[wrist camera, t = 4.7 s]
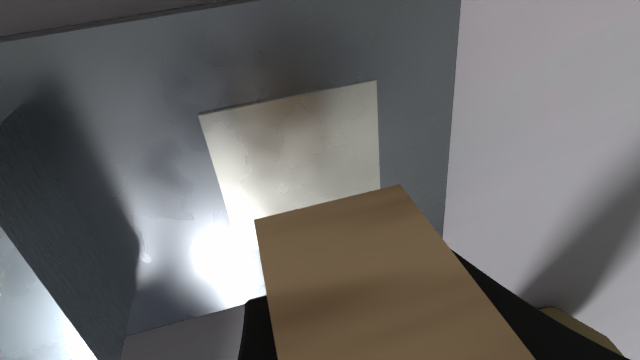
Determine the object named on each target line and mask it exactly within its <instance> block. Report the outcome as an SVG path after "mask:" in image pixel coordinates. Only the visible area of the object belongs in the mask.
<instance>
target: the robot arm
mask: <svg viewBox="0 0 640 360" xmlns="http://www.w3.org/2000/svg"><path fill="white" fill-rule="evenodd" d="M451 251H452V252H453V253H454V255H455V256H456V257H457V258H458V260H459V261H460V262H461V264H462V265H463V266H464V268H465V269H466V270H467V271H468V273H469V274H470V275H471V277H472V278H473V279H474V280H475V282H476V283H477V284H478V286H479V287H480V288H481V290H482V291H483V292H484V293H485V295H486V296H487V297H488V299H489V300H490V301H491V302H492V304H493V305H494V306H495V308H496V309H497V310H498V312H499V313H500V314H501V315H502V317H503V318H504V319H505V321H506V322H507V323H508V324H509V326H510V327H511V328H512V330H513V331H514V332H515V334H516V335H517V336H518V337H519V339H520V340H521V341H522V343H523V344H524V345H525V346H526V348H527V349H528V350H529V352H530V353H531V354H532V355H533V357H534V358H535V359H536V360H630V359H628V358H625V357H623V356H621V355H619V354H617V353H615V352H613V351H611V350H609V349H607V348H605V347H603V346H601V345H599V344H598V343H596V342H594V341H592V340H590V339H588V338H586V337H585V336H583V335H581V334H579V333H577V332H575V331H573V330H572V329H570V328H568V327H566V326H565V325H563V324H561V323H559V322H558V321H556V320H554V319H553V318H551V317H549V316H548V315H546V314H545V313H543V312H541V311H540V310H538V309H536V308H535V307H533V306H532V305H530V304H529V303H527V302H526V301H524V300H522V299H521V298H519V297H518V296H516V295H515V294H513V293H512V292H511V291H509V290H508V289H506V288H505V287H503V286H502V285H500V284H499V283H497V282H496V281H494V280H493V279H492V278H490V277H489V276H487V275H486V274H484V273H483V272H482V271H480V270H479V269H477V268H476V267H475V266H473V265H472V264H471V263H469V262H468V261H466V260H465V259H464V258H462V257H461V256H460V255H458V254H457V253H455V252H454V251H453V250H451ZM238 360H278V358H277V352H276V346H275V340H274V335H273V329H272V323H271V317H270V312H269V306H268V300H267V295H265V296H261V297H257V298H254V299H250V300H248V301H247V302H246V303H245V314H244V324H243V332H242V339H241V345H240V350H239V355H238Z"/></svg>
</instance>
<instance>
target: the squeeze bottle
mask: <svg viewBox="0 0 640 360" xmlns="http://www.w3.org/2000/svg"><path fill="white" fill-rule="evenodd" d="M538 310H540V311H541V312H543V313H545V314H546V315H548V316H549V317H551V318H553V319H554V320H556V321H558V322H559V323H561V324H563V325H565V326H566V327H568V328H570V329H572V330H573V331H575V332H577V333H579V334H581V335H583V336H585V337H586V338H588V339H590V340H592V341H594V342H596V343H598V344H599V345H601V346H603V347H605V348H607V349H609V350H611V351H613V352H615V353H617V354H619V355H621V356H623V355H622V353H621V352H620V351H619V350H618V349H617V348H616V346H615V345H614V344H613V343H612V342H611V341H610V340H609V339H608V338H607V337H606V336H604V335H603V334H601V333H599V332H597V331H596V330H594V329H592V328H590V327H589V326H587V325H585V324H584V323H582V322H580V321H578V320H577V319H575V318H573V317H572V316H570V315H568V314H566V313H565V312H563V311H561V310H559V309H556V308H549V307H548V308H543V309H538ZM623 357H624V356H623Z"/></svg>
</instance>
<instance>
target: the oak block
mask: <svg viewBox="0 0 640 360" xmlns="http://www.w3.org/2000/svg"><path fill="white" fill-rule="evenodd" d="M254 225H255V231H256V237H257V242H258V248H259V254H260V260H261V265H262V271H263V277H264V283H265V289H266V294H267V300H268V306H269V312H270V317H271V323H272V329H273V335H274V340H275V346H276V352H277V358H278V360H536V359H535V358H534V357H533V355H532V354H531V353H530V352H529V350H528V349H527V348H526V346H525V345H524V344H523V343H522V341H521V340H520V339H519V337H518V336H517V335H516V334H515V332H514V331H513V330H512V328H511V327H510V326H509V324H508V323H507V322H506V321H505V319H504V318H503V317H502V315H501V314H500V313H499V312H498V310H497V309H496V308H495V306H494V305H493V304H492V302H491V301H490V300H489V299H488V297H487V296H486V295H485V293H484V292H483V291H482V290H481V288H480V287H479V286H478V284H477V283H476V282H475V280H474V279H473V278H472V277H471V275H470V274H469V273H468V271H467V270H466V269H465V268H464V266H463V265H462V264H461V262H460V261H459V260H458V258H457V257H456V256H455V255H454V253H453V252H452V251H451V249H450V248H449V247H448V246H447V244H446V243H445V242H444V240H443V239H442V238H441V236H440V235H439V234H438V233H437V231H436V230H435V229H434V227H433V226H432V225H431V224H430V222H429V221H428V220H427V218H426V217H425V216H424V215H423V213H422V212H421V211H420V209H419V208H418V207H417V205H416V204H415V203H414V202H413V200H412V199H411V198H410V196H409V195H408V194H407V193H406V191H405V190H404V189H403V187H402V186H401V185H400V184H398V185H394V186H390V187H386V188H382V189H378V190H374V191H369V192H365V193H361V194H357V195H353V196H349V197H345V198H341V199H337V200H332V201H328V202H324V203H320V204H316V205H312V206H308V207H304V208H300V209H295V210H291V211H287V212H283V213H279V214H275V215H271V216H267V217H263V218H258V219H254Z"/></svg>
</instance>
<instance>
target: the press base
mask: <svg viewBox="0 0 640 360" xmlns="http://www.w3.org/2000/svg"><path fill="white" fill-rule="evenodd" d="M460 6H461V0H228V1H222V2H215V3H209V4H203V5H197V6H190V7H184V8H178V9H172V10H165V11H159V12H153V13H147V14H141V15H134V16H128V17H122V18H116V19H109V20H103V21H97V22H91V23H84V24H78V25H72V26H66V27H59V28H53V29H47V30H41V31H34V32H28V33H22V34H16V35H10V36H3V37H0V360H120V359H121V354H122V349H123V344H124V339H125V336H129V335H133V334H136V333H140V332H144V331H147V330H151V329H155V328H158V327H162V326H166V325H169V324H173V323H177V322H180V321H184V320H188V319H191V318H195V317H199V316H202V315H206V314H210V313H213V312H217V311H221V310H224V309H228V308H232V307H235V306H239V305H243V304H245V303H246V302H247V301H248V300H250V299H254V298H257V297H261V296H265V295H267V294H266V289H265V283H264V277H263V271H262V265H261V260H260V254H259V248H258V242H257V237H256V231H255V225H254V219H258V218H263V217H267V216H271V215H275V214H279V213H283V212H287V211H291V210H295V209H300V208H304V207H308V206H312V205H316V204H320V203H324V202H328V201H332V200H337V199H341V198H345V197H349V196H353V195H357V194H361V193H365V192H369V191H374V190H378V189H382V188H386V187H390V186H394V185H398V184H400V185H401V186H402V187H403V189H404V190H405V191H406V193H407V194H408V195H409V196H410V198H411V199H412V200H413V202H414V203H415V204H416V205H417V207H418V208H419V209H420V211H421V212H422V213H423V215H424V216H425V217H426V218H427V220H428V221H429V222H430V224H431V225H432V226H433V227H434V229H435V230H436V231H437V233H438V234H439V235H440V236H441V238H442V237H443V224H444V211H445V199H446V186H447V173H448V160H449V147H450V134H451V122H452V109H453V96H454V83H455V70H456V57H457V45H458V32H459V19H460Z"/></svg>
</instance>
